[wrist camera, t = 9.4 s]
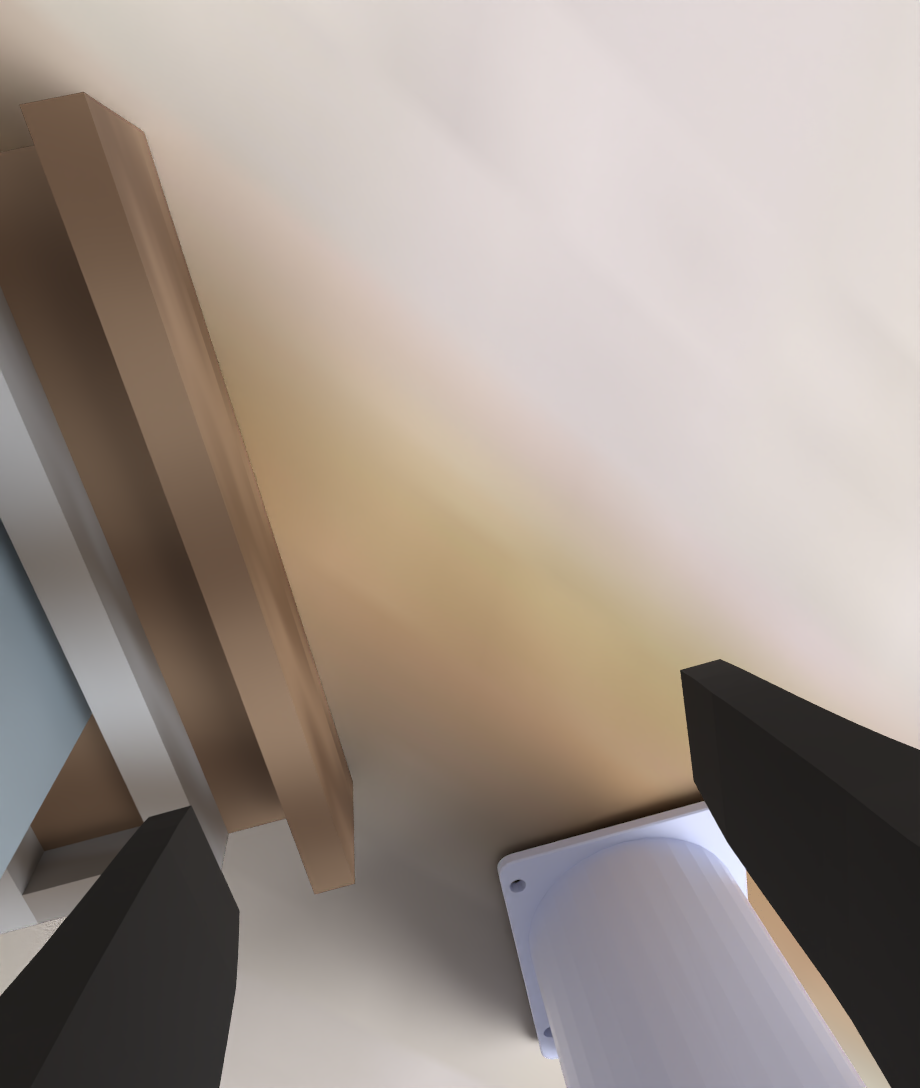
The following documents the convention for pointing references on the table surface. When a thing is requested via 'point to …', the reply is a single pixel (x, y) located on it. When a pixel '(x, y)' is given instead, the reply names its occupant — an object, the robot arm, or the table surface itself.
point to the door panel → (30, 703)
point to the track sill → (143, 531)
